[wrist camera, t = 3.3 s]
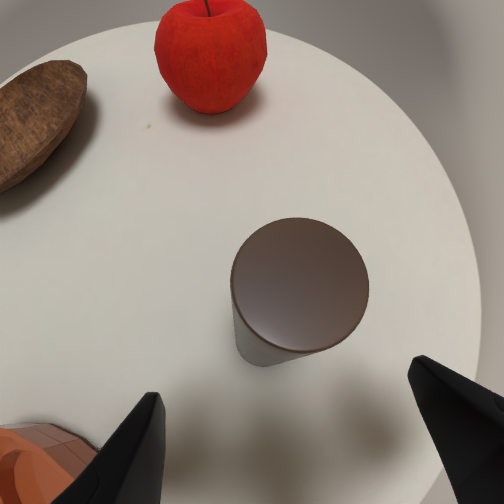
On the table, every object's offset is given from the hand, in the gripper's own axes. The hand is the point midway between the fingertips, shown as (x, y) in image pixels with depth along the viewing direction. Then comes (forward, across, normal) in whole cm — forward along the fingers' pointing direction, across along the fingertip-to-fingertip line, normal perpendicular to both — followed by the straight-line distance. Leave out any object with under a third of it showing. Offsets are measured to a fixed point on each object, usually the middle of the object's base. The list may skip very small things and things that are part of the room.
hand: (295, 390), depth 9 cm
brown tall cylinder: (+9, 0, +5) cm, 10 cm away
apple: (+26, +2, -11) cm, 28 cm away
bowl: (+25, +25, -10) cm, 37 cm away
